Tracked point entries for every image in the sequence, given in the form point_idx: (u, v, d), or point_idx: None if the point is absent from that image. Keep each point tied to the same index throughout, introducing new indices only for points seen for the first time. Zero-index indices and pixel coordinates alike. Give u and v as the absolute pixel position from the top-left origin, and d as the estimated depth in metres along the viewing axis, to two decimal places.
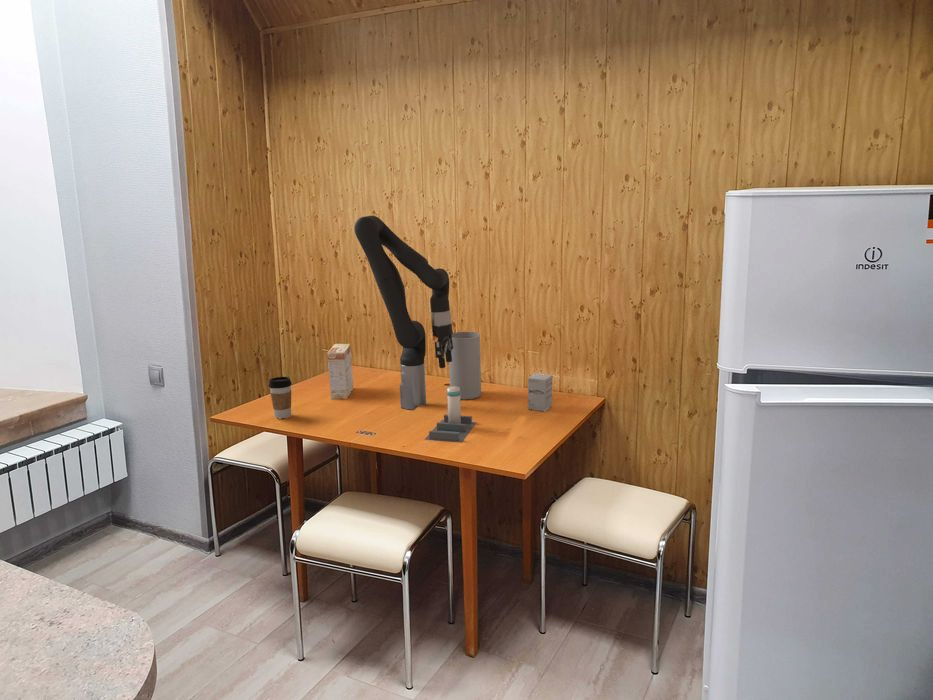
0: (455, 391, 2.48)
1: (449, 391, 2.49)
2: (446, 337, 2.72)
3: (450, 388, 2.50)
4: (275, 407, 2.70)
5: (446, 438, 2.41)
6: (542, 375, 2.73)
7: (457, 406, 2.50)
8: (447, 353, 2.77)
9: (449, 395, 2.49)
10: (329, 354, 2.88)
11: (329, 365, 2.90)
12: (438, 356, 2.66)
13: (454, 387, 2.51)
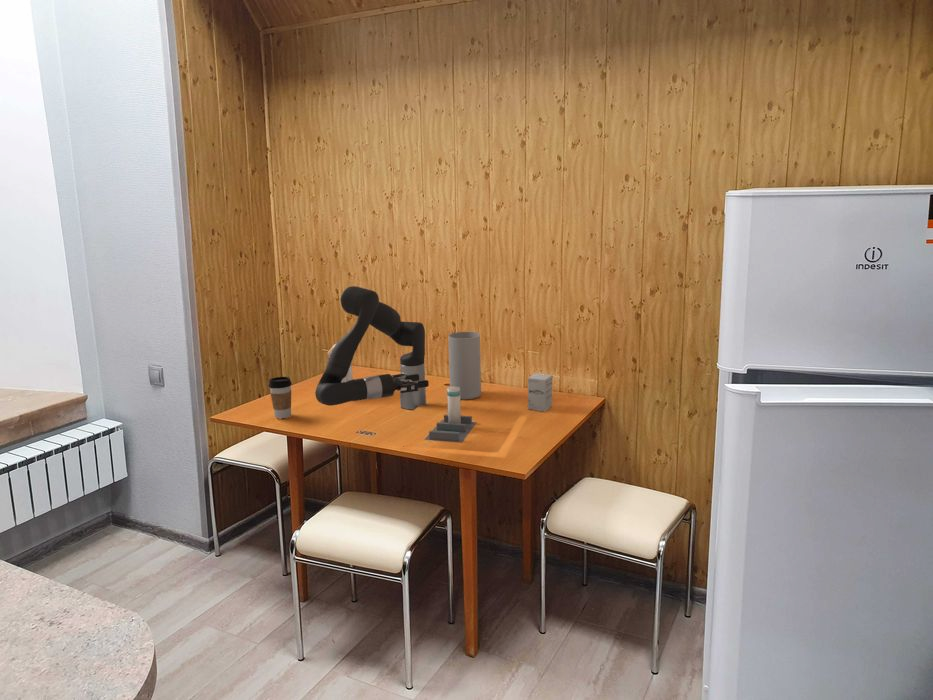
0: (455, 391, 2.48)
1: (449, 391, 2.49)
2: None
3: (450, 388, 2.50)
4: (275, 407, 2.70)
5: (446, 438, 2.41)
6: (542, 375, 2.73)
7: (457, 406, 2.50)
8: None
9: (449, 395, 2.49)
10: (329, 354, 2.88)
11: None
12: None
13: (454, 387, 2.51)
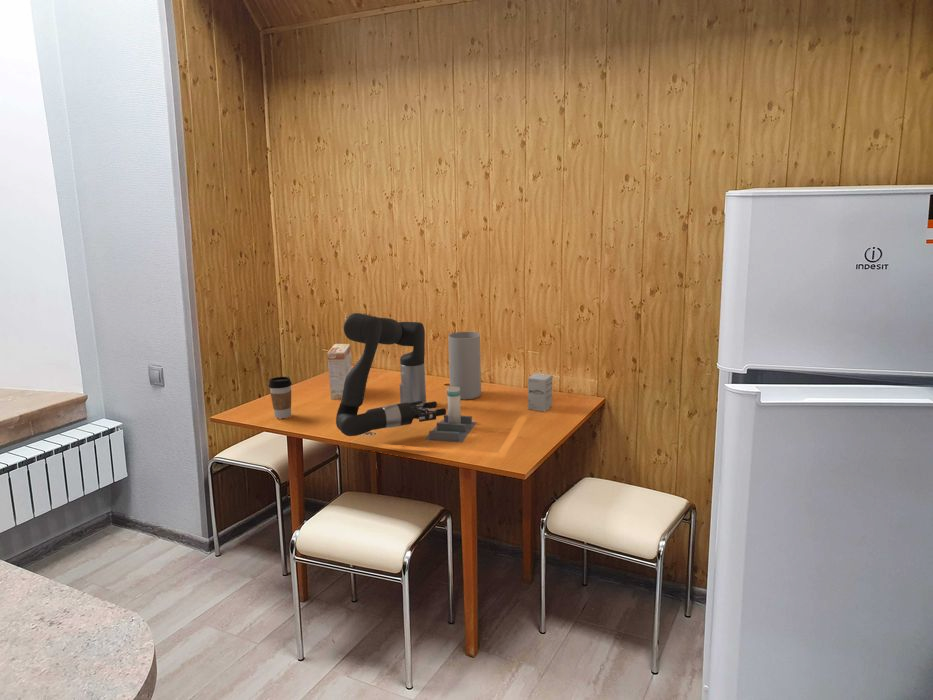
0: (455, 391, 2.48)
1: (449, 391, 2.49)
2: None
3: (450, 388, 2.50)
4: (275, 407, 2.70)
5: (446, 438, 2.41)
6: (542, 375, 2.73)
7: (457, 406, 2.50)
8: None
9: (449, 395, 2.49)
10: (329, 354, 2.88)
11: (329, 365, 2.90)
12: None
13: (454, 387, 2.51)
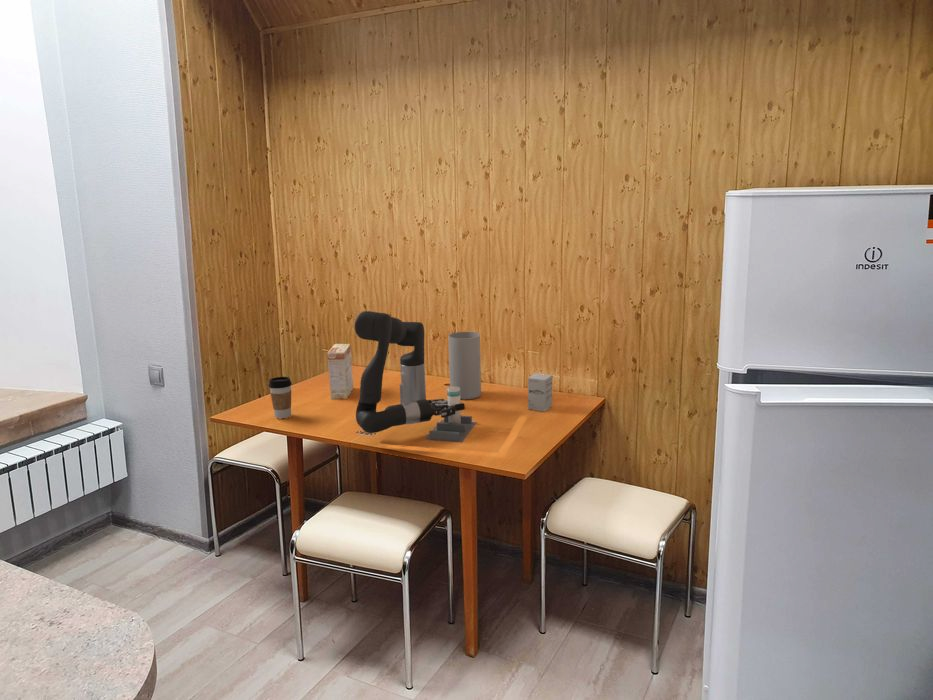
0: (455, 391, 2.48)
1: (449, 391, 2.49)
2: None
3: (450, 388, 2.50)
4: (275, 407, 2.70)
5: (446, 438, 2.41)
6: (542, 375, 2.73)
7: None
8: None
9: (449, 395, 2.49)
10: (329, 354, 2.88)
11: (329, 365, 2.90)
12: None
13: (454, 387, 2.51)
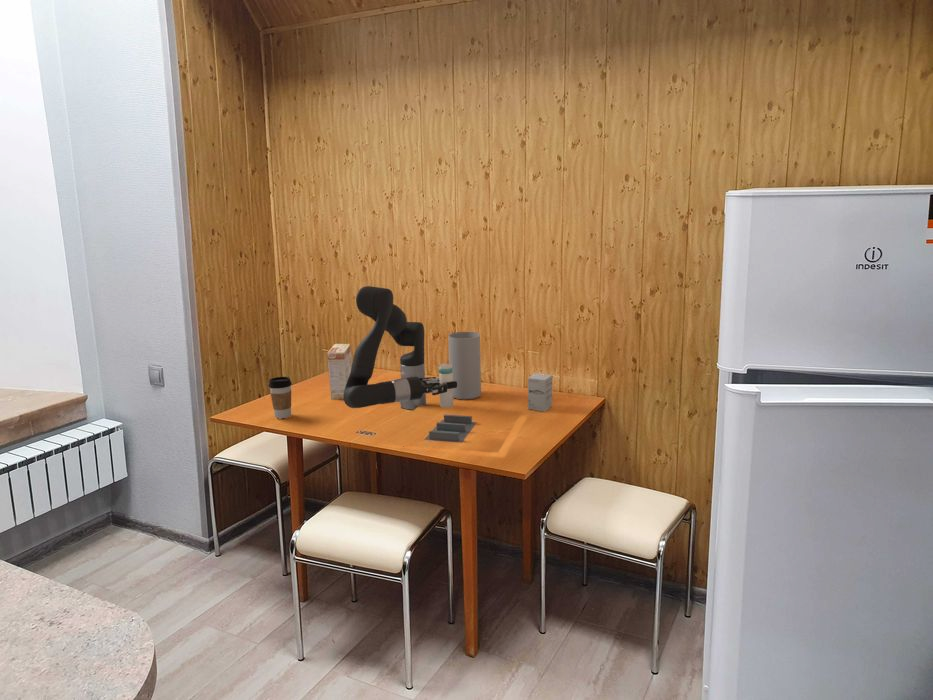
0: (447, 368, 2.38)
1: (441, 368, 2.38)
2: None
3: (442, 365, 2.39)
4: (275, 407, 2.70)
5: (446, 438, 2.41)
6: (542, 375, 2.73)
7: None
8: None
9: (441, 372, 2.39)
10: (329, 354, 2.88)
11: (329, 365, 2.90)
12: None
13: (446, 364, 2.41)
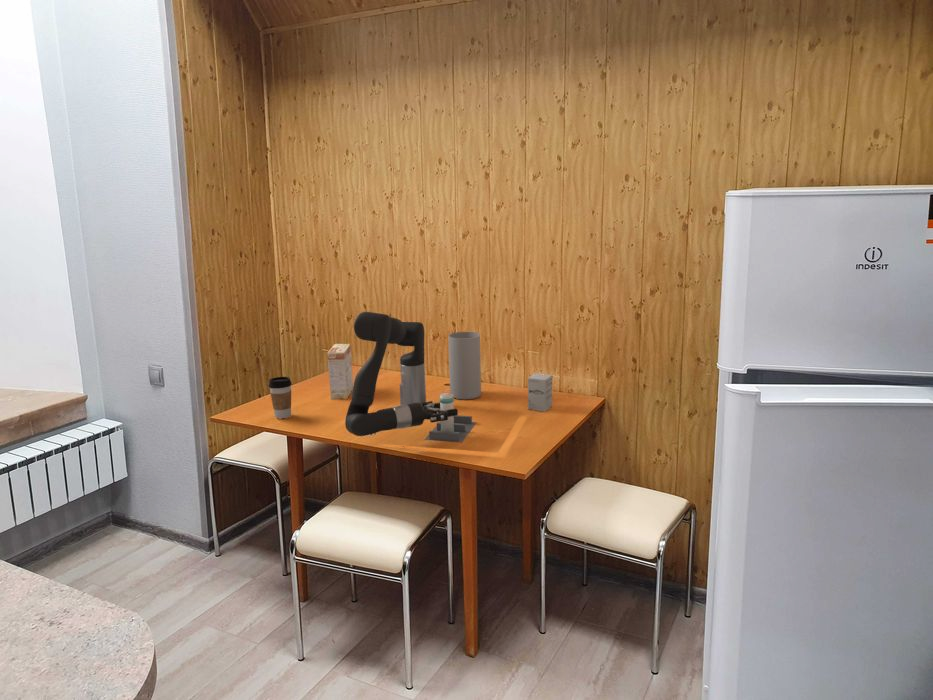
0: (448, 398, 2.41)
1: (442, 398, 2.41)
2: None
3: (443, 395, 2.42)
4: (275, 407, 2.70)
5: (446, 438, 2.41)
6: (542, 375, 2.73)
7: None
8: None
9: (442, 402, 2.41)
10: (329, 354, 2.88)
11: (329, 365, 2.90)
12: None
13: (447, 394, 2.43)
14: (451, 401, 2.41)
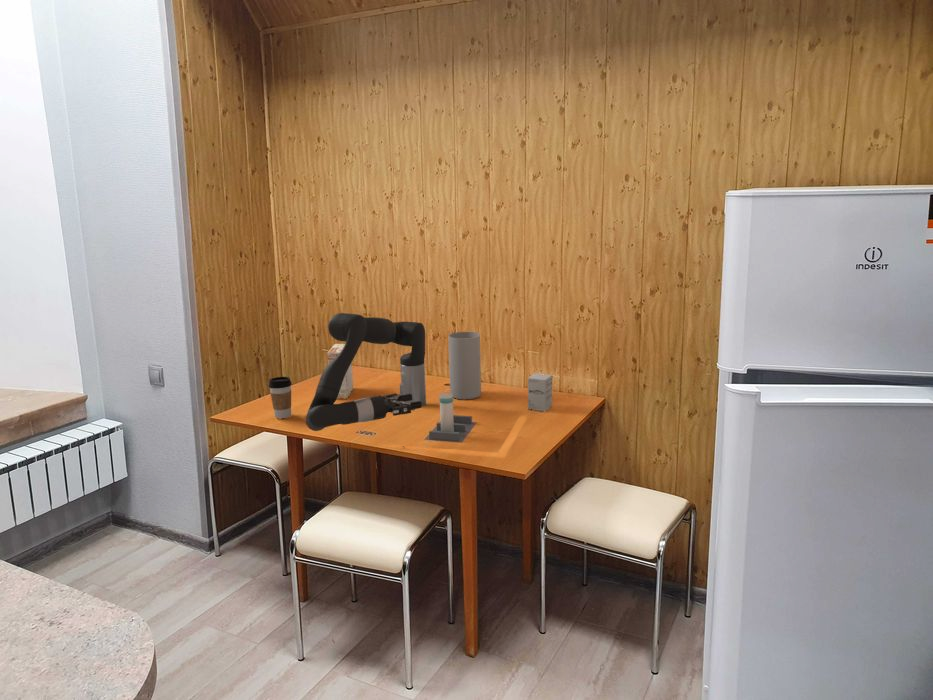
0: (447, 398, 2.41)
1: (441, 398, 2.41)
2: None
3: (443, 395, 2.42)
4: (275, 407, 2.70)
5: (446, 438, 2.41)
6: (542, 375, 2.73)
7: (449, 413, 2.42)
8: None
9: (441, 402, 2.41)
10: (329, 354, 2.88)
11: None
12: None
13: (447, 394, 2.43)
14: (450, 401, 2.41)
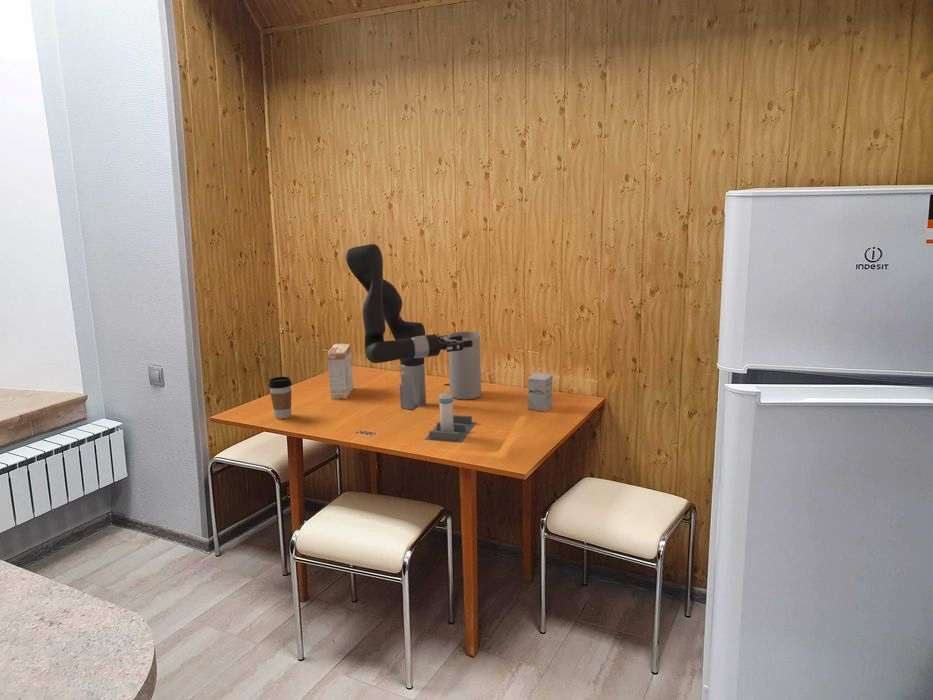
0: (447, 398, 2.40)
1: (441, 398, 2.41)
2: None
3: (442, 395, 2.42)
4: (275, 407, 2.70)
5: (446, 438, 2.41)
6: (542, 375, 2.73)
7: (449, 413, 2.42)
8: None
9: (441, 402, 2.41)
10: (329, 354, 2.88)
11: (329, 365, 2.90)
12: None
13: (446, 394, 2.43)
14: (450, 401, 2.41)
